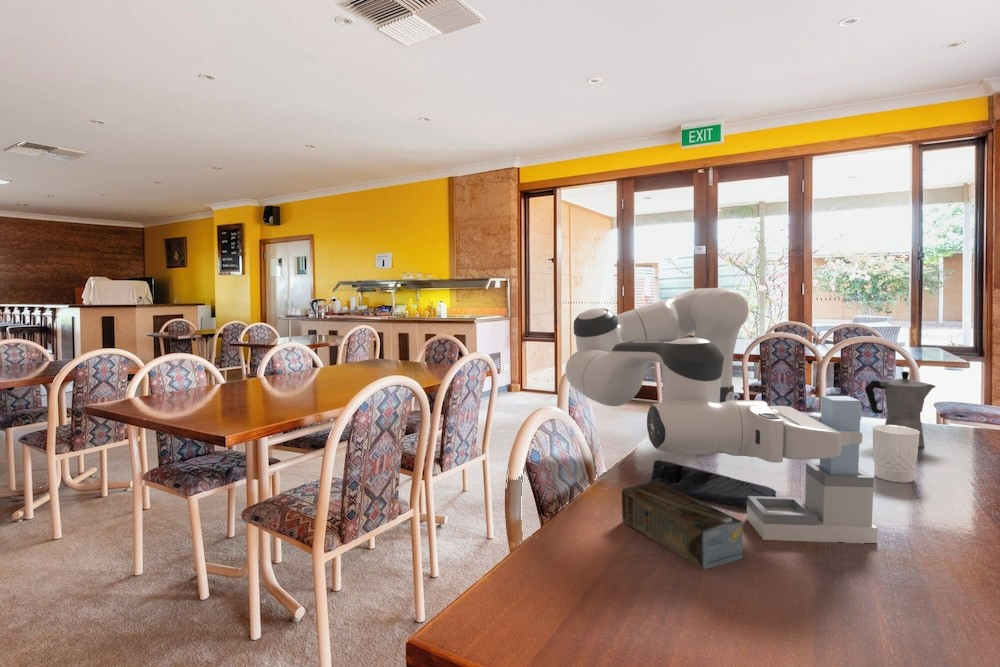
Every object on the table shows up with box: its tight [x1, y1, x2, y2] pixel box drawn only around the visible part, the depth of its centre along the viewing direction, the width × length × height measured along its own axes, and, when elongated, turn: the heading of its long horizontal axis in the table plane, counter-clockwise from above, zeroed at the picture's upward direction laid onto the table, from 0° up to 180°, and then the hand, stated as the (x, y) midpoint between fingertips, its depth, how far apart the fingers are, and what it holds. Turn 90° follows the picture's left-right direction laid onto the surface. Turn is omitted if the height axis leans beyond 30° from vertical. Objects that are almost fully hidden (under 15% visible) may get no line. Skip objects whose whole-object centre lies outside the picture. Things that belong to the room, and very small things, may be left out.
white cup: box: [872, 424, 920, 484], centre depth 118 cm, size 8×8×10 cm
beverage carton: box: [621, 481, 744, 570], centre depth 91 cm, size 8×19×7 cm, turn 24°
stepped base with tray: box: [746, 462, 879, 544], centre depth 93 cm, size 16×8×10 cm, turn 83°
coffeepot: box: [864, 371, 936, 448], centre depth 144 cm, size 15×9×18 cm, turn 79°
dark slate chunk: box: [645, 459, 777, 507], centre depth 113 cm, size 15×22×5 cm
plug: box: [819, 395, 862, 475], centre depth 92 cm, size 5×4×13 cm
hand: (845, 429), depth 92 cm, fingers open, 8 cm apart
